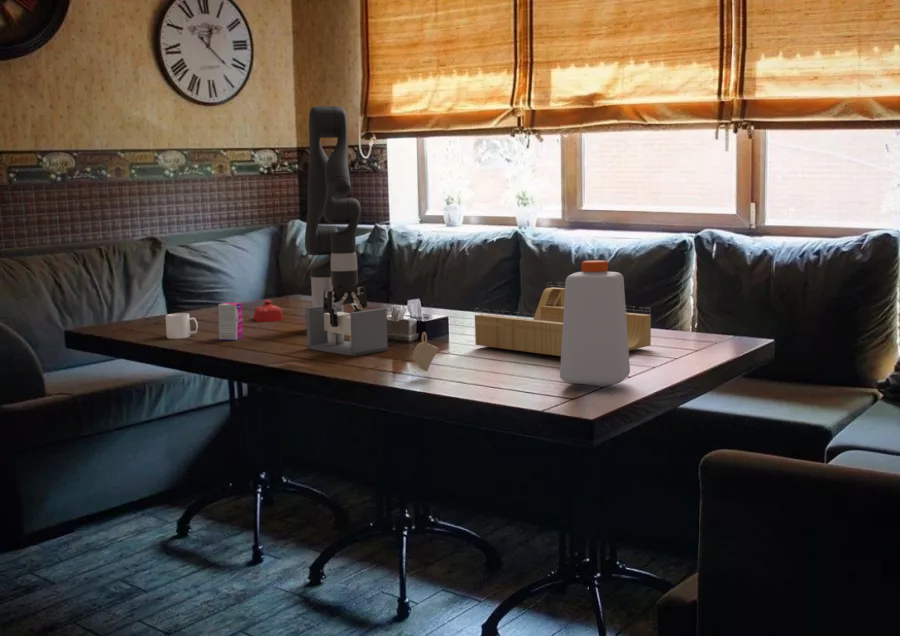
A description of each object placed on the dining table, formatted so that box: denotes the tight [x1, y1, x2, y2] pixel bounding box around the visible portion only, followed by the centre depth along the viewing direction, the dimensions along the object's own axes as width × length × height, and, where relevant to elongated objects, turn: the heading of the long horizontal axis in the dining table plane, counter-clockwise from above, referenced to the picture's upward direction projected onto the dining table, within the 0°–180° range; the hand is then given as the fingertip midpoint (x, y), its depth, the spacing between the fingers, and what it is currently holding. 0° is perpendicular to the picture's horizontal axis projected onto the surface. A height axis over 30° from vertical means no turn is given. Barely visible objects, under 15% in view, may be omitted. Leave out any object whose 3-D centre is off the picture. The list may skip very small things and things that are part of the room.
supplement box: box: [217, 302, 244, 342], centre depth 314 cm, size 6×6×12 cm
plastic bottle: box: [559, 259, 631, 386], centre depth 238 cm, size 15×15×28 cm
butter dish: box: [253, 299, 284, 323], centre depth 350 cm, size 12×12×8 cm
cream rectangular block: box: [324, 311, 351, 337], centre depth 290 cm, size 16×6×5 cm, turn 37°
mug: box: [165, 312, 199, 340], centre depth 321 cm, size 10×7×8 cm
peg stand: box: [305, 306, 389, 357], centre depth 290 cm, size 22×12×12 cm, turn 45°
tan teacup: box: [412, 331, 440, 372], centre depth 254 cm, size 4×8×5 cm
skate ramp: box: [474, 281, 652, 357], centre depth 288 cm, size 40×35×16 cm
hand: (346, 325), depth 290 cm, fingers open, 8 cm apart
